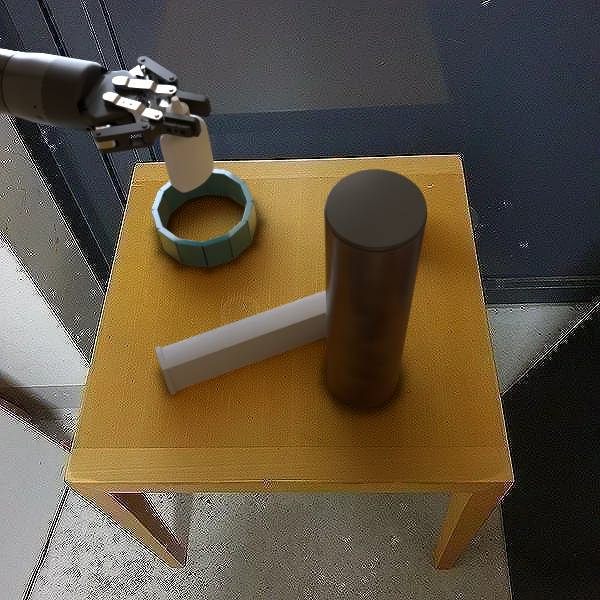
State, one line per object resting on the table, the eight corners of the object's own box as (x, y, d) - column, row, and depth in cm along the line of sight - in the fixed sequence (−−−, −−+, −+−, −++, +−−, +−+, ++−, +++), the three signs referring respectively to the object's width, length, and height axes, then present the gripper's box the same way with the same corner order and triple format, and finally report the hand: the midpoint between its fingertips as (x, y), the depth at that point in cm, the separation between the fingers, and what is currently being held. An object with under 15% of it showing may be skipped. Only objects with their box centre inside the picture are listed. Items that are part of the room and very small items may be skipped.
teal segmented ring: (148, 259, 88) (139, 238, 85) (175, 185, 95) (168, 163, 91) (243, 272, 87) (239, 251, 83) (264, 196, 93) (261, 173, 89)
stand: (321, 402, 77) (315, 241, 52) (333, 340, 81) (332, 162, 56) (393, 413, 76) (423, 255, 50) (401, 350, 80) (432, 173, 55)
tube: (356, 268, 82) (152, 339, 77) (375, 294, 78) (161, 370, 73) (360, 302, 85) (165, 372, 81) (378, 328, 81) (174, 403, 77)
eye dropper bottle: (166, 171, 83) (143, 92, 73) (210, 158, 84) (195, 78, 74) (175, 196, 81) (153, 119, 71) (221, 183, 82) (206, 105, 71)
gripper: (14, 108, 70) (174, 137, 67) (74, 23, 77) (221, 46, 74) (40, 160, 76) (187, 189, 73) (93, 78, 83) (229, 101, 80)
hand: (203, 117), depth 73 cm, fingers closed on eye dropper bottle, 2 cm apart
